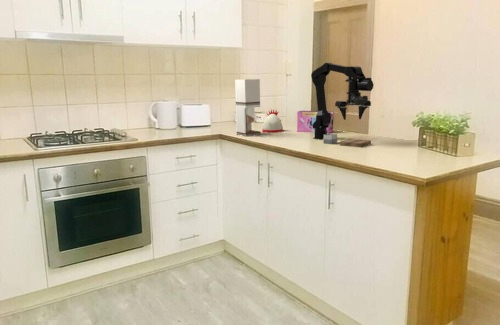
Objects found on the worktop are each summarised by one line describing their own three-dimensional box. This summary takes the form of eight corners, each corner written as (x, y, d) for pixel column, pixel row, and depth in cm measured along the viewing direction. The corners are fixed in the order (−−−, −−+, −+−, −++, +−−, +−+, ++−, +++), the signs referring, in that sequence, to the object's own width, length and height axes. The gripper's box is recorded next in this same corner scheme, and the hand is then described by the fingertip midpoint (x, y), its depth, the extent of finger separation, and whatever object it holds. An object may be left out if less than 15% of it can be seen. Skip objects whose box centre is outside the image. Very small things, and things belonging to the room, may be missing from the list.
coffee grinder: (246, 136, 258) (244, 79, 251) (236, 134, 267) (235, 79, 260) (260, 134, 265) (259, 79, 258) (250, 133, 273) (249, 79, 266)
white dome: (283, 132, 274) (283, 109, 270) (262, 132, 274) (262, 110, 271) (282, 129, 287) (282, 108, 284) (262, 130, 288) (262, 108, 284)
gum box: (335, 132, 270) (335, 111, 268) (331, 133, 264) (331, 112, 261) (301, 130, 282) (301, 110, 279) (296, 131, 275) (296, 111, 273)
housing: (323, 143, 226) (323, 134, 225) (328, 142, 231) (328, 133, 230) (331, 144, 223) (331, 135, 222) (336, 142, 228) (337, 133, 226)
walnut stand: (339, 145, 219) (340, 141, 218) (350, 142, 228) (350, 138, 227) (361, 147, 211) (361, 143, 211) (370, 144, 220) (371, 140, 220)
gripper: (345, 91, 211) (344, 122, 214) (377, 90, 216) (375, 120, 219) (335, 90, 221) (334, 119, 225) (366, 89, 226) (364, 118, 230)
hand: (352, 119), depth 224 cm, fingers open, 9 cm apart
